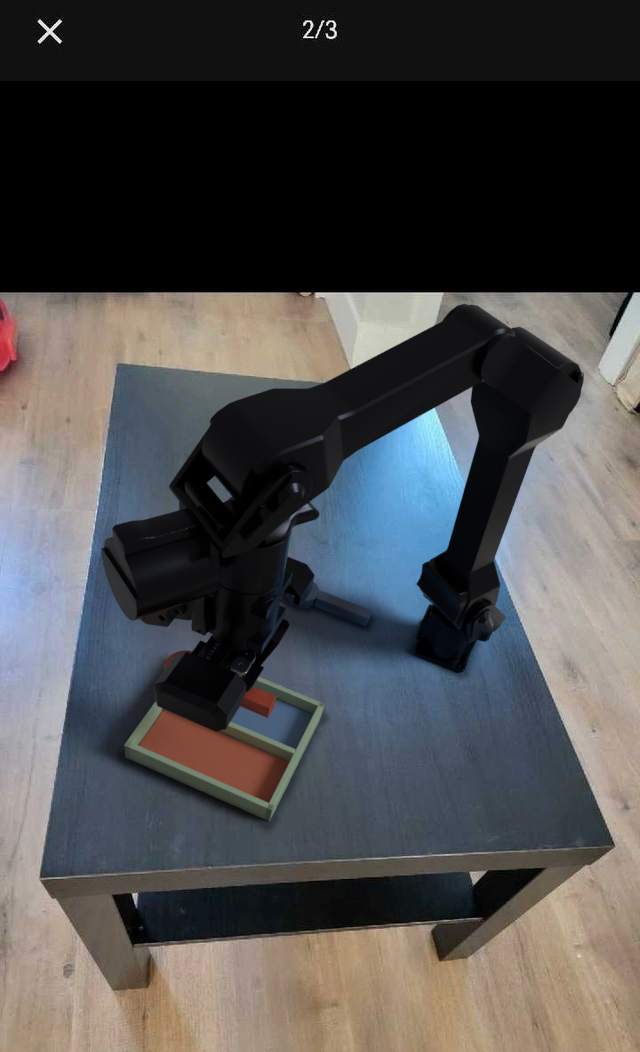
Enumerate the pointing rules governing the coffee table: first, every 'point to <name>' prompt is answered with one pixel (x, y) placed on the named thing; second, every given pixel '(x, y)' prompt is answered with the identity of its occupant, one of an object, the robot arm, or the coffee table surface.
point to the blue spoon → (334, 606)
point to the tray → (231, 749)
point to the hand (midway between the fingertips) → (234, 689)
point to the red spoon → (248, 696)
